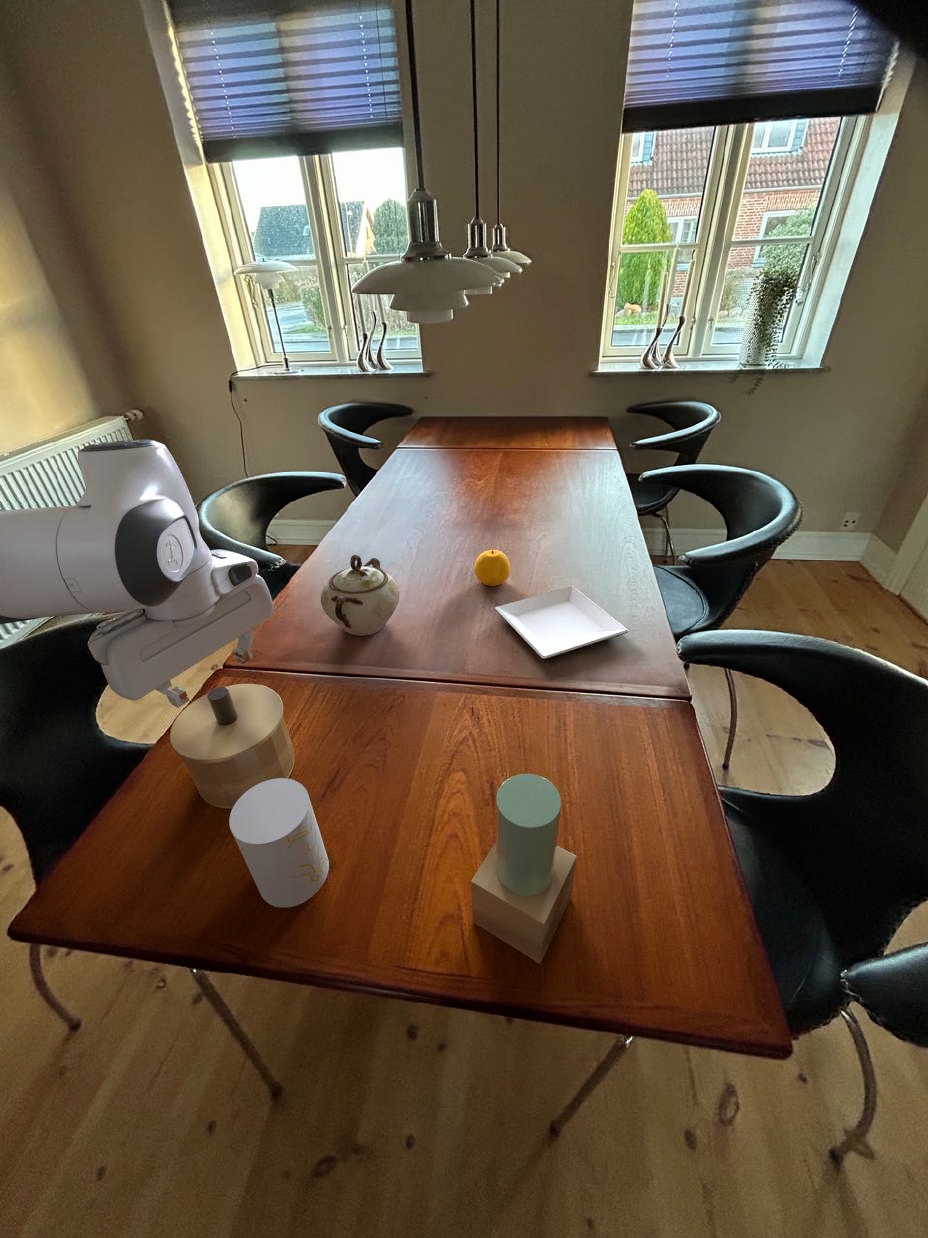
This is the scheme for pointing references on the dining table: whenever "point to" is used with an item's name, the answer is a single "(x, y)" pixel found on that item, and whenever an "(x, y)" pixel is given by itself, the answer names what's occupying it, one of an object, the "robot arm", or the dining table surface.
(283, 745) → the basket
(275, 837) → the white cylinder
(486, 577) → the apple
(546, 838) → the canister
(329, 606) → the sugar bowl
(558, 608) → the plate
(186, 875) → the dining table surface
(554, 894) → the stand
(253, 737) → the basket lid
